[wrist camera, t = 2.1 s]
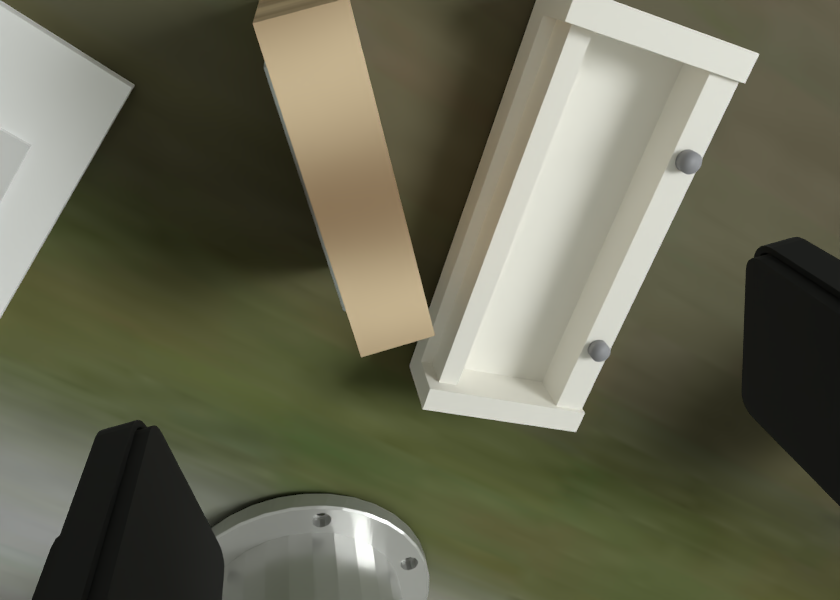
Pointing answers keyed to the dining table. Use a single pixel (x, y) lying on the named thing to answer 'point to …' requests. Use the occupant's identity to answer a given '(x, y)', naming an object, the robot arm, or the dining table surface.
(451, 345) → the white pegged tray
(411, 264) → the oak frame
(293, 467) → the dining table surface
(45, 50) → the photo frame
